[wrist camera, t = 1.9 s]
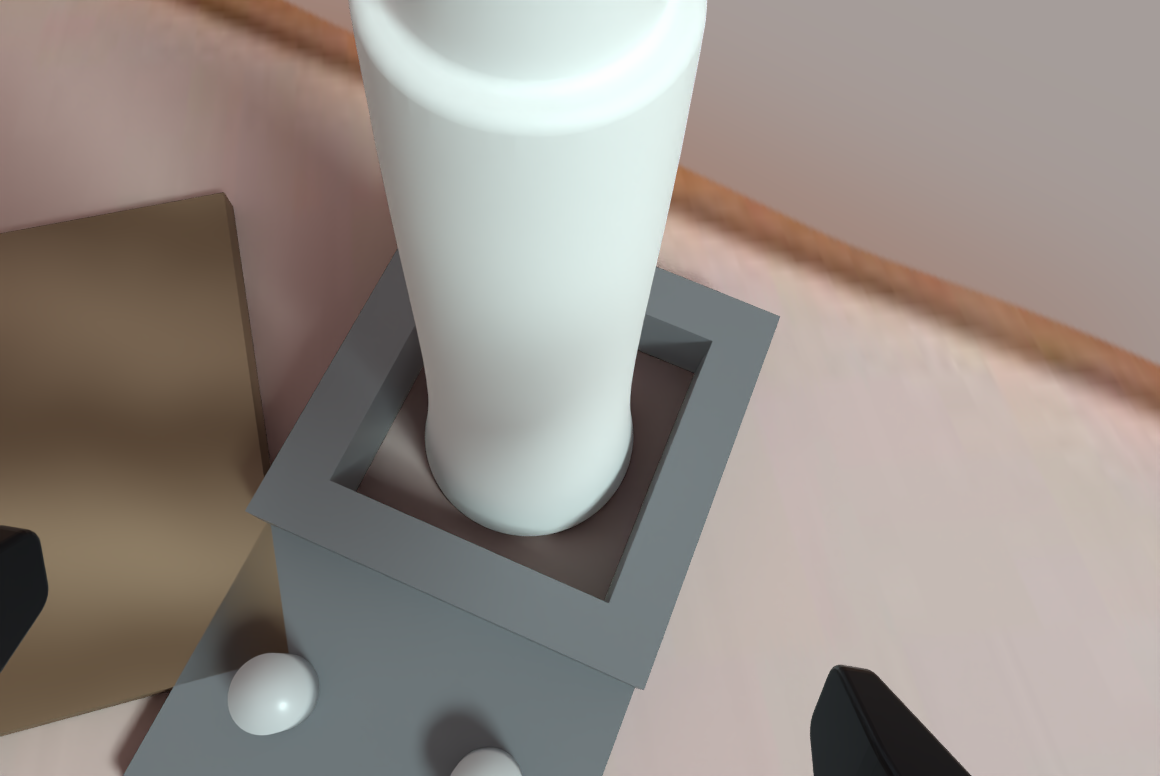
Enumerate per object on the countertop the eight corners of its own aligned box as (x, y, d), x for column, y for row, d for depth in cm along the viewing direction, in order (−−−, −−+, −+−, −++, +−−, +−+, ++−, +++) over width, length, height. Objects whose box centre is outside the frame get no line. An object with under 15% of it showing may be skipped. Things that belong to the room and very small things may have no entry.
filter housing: (521, 980, 18) (521, 1026, 16) (129, 789, 19) (72, 806, 17) (755, 350, 24) (779, 316, 22) (446, 224, 25) (437, 178, 23)
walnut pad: (298, 655, 20) (288, 655, 20) (-210, 793, 19) (-240, 798, 18) (233, 206, 25) (223, 192, 24) (-183, 284, 23) (-208, 271, 22)
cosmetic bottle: (581, 311, 24) (885, -1758, 4) (666, 486, 22) (2220, -1538, 2) (396, 382, 23) (-763, -2069, 2) (471, 572, 21) (-1330, -2274, 1)
